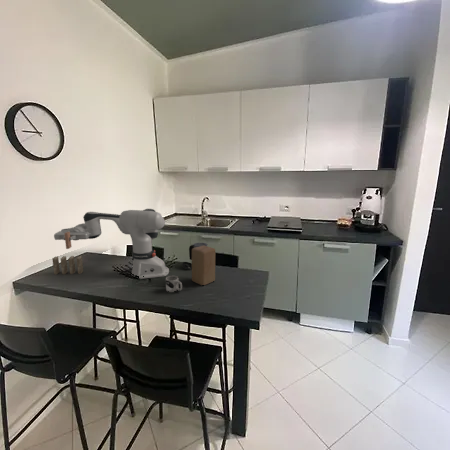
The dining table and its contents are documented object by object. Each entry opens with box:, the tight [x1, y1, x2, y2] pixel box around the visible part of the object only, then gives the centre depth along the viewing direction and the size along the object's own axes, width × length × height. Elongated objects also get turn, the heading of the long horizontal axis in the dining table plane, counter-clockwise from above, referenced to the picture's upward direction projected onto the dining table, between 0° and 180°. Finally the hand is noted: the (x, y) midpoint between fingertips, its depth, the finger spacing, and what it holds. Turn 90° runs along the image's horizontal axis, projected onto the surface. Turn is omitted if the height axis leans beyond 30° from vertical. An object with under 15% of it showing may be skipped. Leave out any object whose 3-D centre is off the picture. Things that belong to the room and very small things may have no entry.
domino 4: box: [68, 255, 76, 275], centre depth 169 cm, size 2×4×10 cm, turn 8°
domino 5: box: [76, 255, 84, 275], centre depth 170 cm, size 2×4×10 cm, turn 8°
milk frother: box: [181, 242, 208, 270], centre depth 182 cm, size 14×16×15 cm
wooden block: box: [191, 245, 216, 286], centre depth 159 cm, size 10×10×20 cm
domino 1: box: [52, 256, 61, 276], centre depth 168 cm, size 2×4×10 cm, turn 8°
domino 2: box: [60, 255, 69, 275], centre depth 169 cm, size 2×4×10 cm, turn 8°
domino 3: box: [64, 232, 72, 250], centre depth 175 cm, size 2×4×10 cm, turn 7°
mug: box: [165, 275, 183, 293], centre depth 149 cm, size 10×7×7 cm
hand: (67, 239), depth 174 cm, fingers closed on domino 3, 2 cm apart
